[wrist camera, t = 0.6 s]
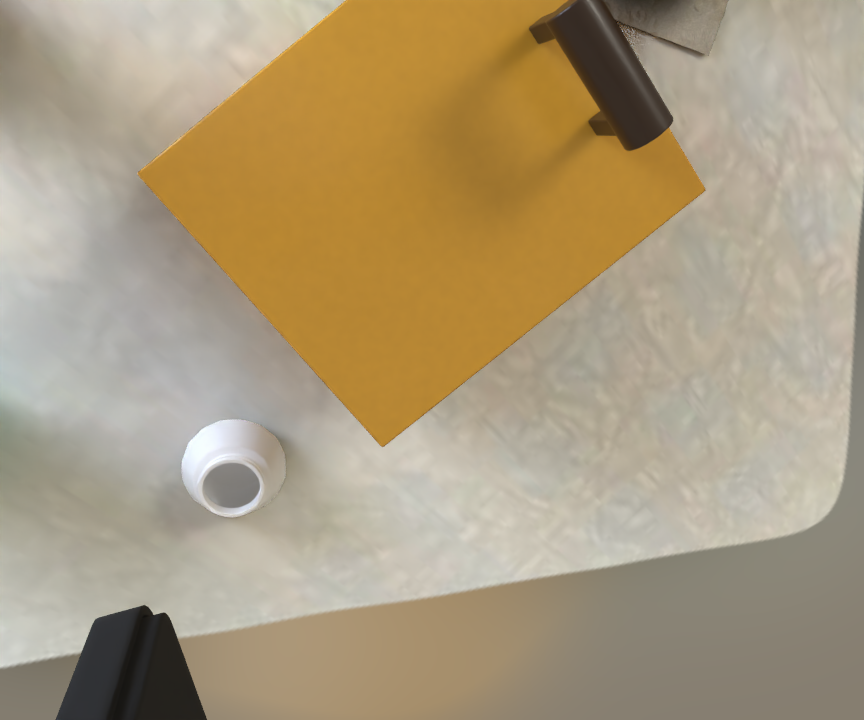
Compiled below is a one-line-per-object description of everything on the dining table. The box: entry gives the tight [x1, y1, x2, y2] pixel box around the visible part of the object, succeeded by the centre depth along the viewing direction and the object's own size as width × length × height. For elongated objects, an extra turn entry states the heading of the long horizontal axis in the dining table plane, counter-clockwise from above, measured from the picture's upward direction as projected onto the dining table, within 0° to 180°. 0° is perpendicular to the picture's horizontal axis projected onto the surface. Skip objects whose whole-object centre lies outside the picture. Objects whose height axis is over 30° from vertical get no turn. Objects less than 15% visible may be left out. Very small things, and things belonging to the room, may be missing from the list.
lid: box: [137, 0, 705, 447], centre depth 27 cm, size 17×14×5 cm
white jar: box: [181, 419, 286, 517], centre depth 38 cm, size 5×3×5 cm
